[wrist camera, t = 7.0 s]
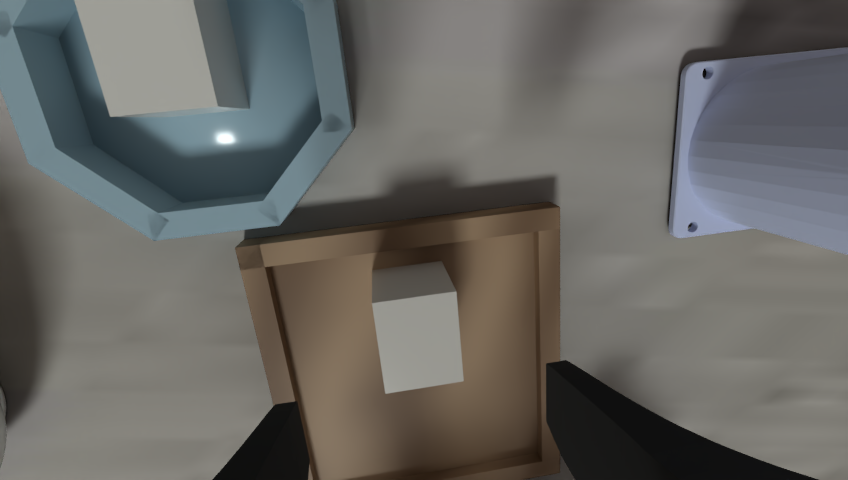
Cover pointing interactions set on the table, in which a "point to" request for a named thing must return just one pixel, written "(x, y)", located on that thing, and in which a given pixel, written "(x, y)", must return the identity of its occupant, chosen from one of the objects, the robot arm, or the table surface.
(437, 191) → the table surface
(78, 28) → the bowl
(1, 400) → the lidded jar
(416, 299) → the sharp-edged grey cuboid
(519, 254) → the tray
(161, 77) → the light grey block
